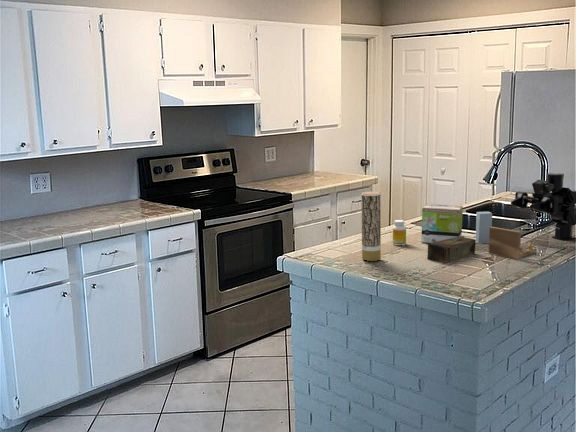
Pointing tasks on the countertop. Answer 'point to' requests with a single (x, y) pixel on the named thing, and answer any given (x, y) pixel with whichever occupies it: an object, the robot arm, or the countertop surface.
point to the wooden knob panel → (507, 243)
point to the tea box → (441, 222)
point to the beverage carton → (451, 249)
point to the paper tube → (371, 226)
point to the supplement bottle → (399, 233)
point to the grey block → (483, 226)
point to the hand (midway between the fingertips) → (520, 204)
